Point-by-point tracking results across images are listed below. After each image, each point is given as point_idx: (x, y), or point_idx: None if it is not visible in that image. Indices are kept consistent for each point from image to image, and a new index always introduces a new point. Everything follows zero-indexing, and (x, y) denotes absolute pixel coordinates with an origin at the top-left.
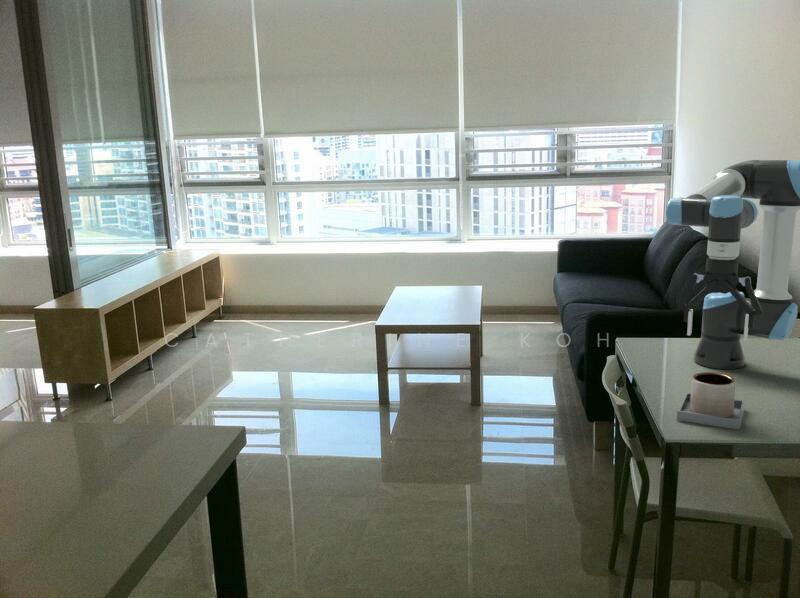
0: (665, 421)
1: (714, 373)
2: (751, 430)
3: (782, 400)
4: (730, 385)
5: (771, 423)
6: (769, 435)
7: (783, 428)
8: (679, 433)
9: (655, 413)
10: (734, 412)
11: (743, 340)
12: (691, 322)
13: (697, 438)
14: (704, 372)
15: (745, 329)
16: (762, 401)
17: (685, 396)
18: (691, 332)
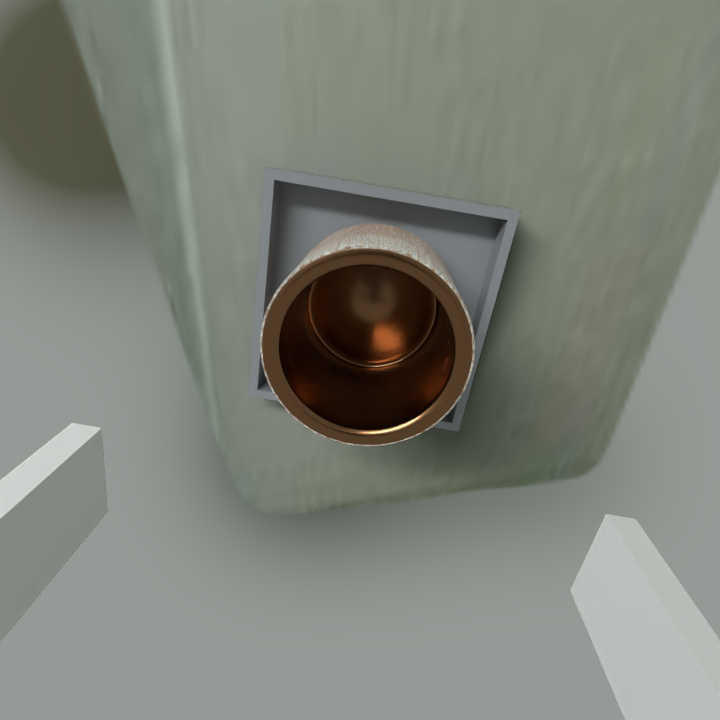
0: (224, 400)
1: (375, 263)
2: (491, 411)
3: None
4: (438, 419)
5: (577, 334)
6: (539, 436)
7: (606, 370)
8: (274, 478)
9: (183, 339)
10: (460, 281)
11: (572, 595)
12: (9, 578)
13: (324, 499)
14: (320, 263)
15: (634, 716)
16: (621, 64)
17: (266, 224)
18: (97, 439)
